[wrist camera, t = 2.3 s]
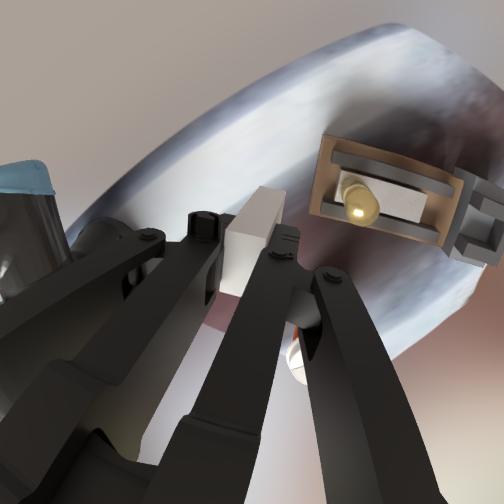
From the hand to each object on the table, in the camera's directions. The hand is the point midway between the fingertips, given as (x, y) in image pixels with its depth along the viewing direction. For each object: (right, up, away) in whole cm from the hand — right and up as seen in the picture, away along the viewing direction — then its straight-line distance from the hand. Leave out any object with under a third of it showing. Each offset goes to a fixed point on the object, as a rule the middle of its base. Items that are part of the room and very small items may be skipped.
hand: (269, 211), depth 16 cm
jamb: (+26, +3, +14) cm, 30 cm away
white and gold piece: (+12, +4, +10) cm, 16 cm away
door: (+14, +6, +15) cm, 22 cm away
